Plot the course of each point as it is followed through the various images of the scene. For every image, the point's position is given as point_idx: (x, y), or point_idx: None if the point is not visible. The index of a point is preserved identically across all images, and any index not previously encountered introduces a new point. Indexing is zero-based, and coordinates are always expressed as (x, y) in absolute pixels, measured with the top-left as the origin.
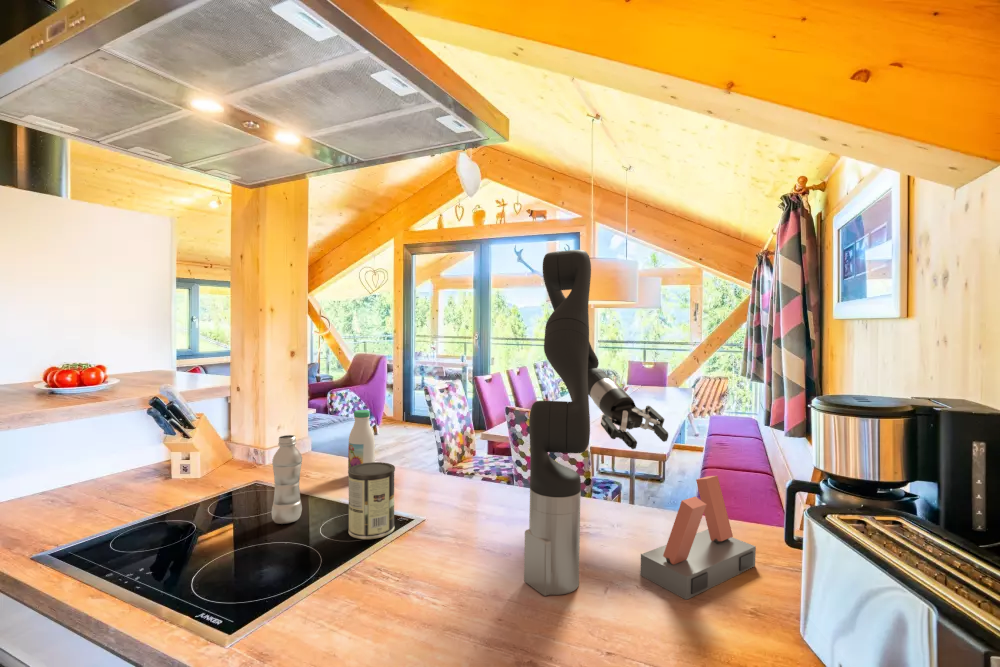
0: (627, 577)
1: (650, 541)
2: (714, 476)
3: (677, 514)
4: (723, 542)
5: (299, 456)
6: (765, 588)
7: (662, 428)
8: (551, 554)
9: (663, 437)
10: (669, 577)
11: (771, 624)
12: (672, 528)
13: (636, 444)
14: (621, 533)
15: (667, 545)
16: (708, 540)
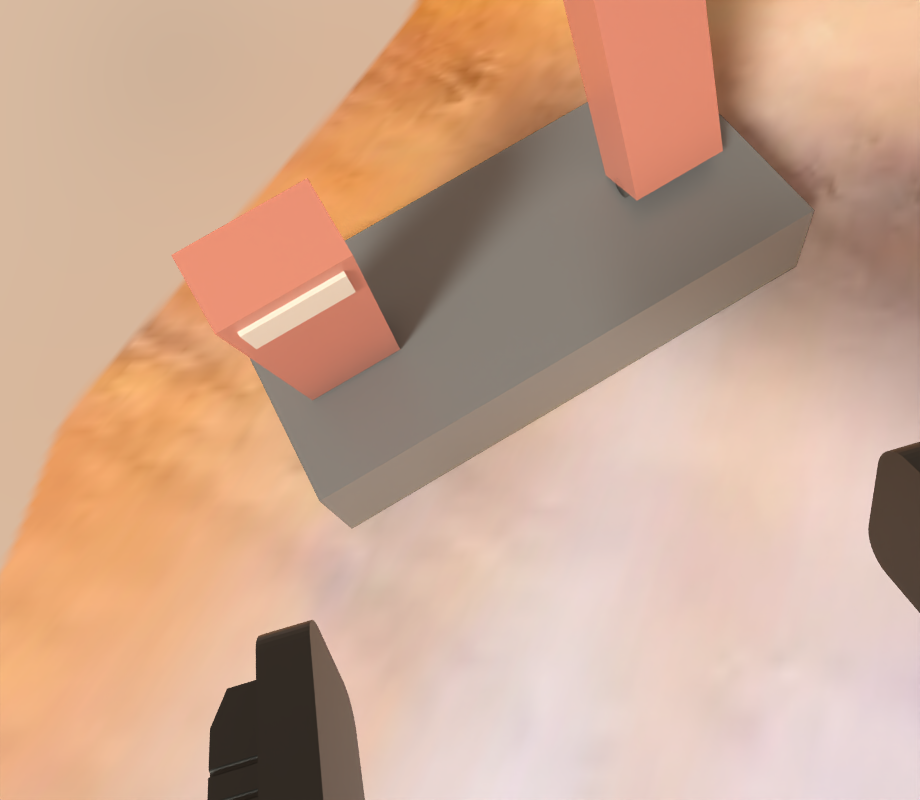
0: (860, 249)
1: (641, 607)
2: (206, 237)
3: None
4: None
5: None
6: (335, 205)
7: (261, 782)
8: None
9: (337, 693)
10: None
11: (450, 35)
12: (705, 3)
13: (883, 472)
14: (799, 733)
15: (714, 93)
16: (408, 359)
